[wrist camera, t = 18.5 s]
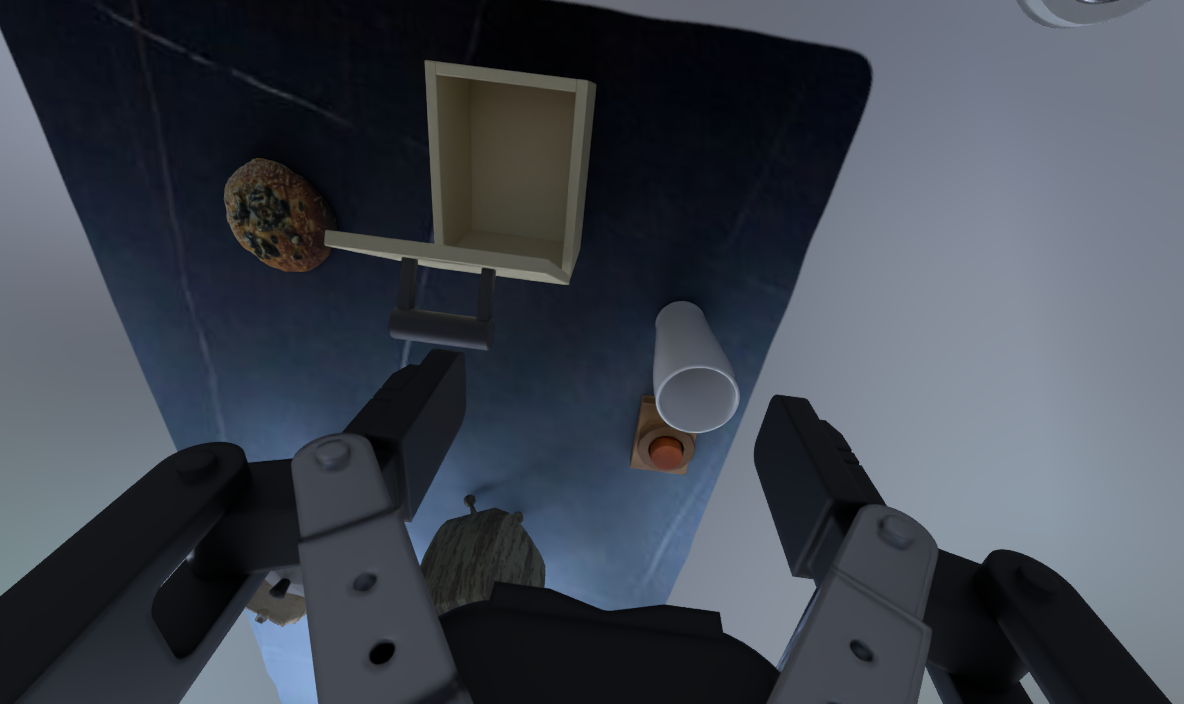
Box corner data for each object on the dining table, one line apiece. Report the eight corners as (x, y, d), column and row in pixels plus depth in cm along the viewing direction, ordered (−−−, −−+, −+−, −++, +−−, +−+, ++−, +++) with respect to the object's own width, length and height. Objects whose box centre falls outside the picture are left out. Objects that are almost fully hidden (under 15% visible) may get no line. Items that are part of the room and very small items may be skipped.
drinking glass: (722, 303, 49) (756, 378, 36) (696, 357, 52) (719, 443, 39) (661, 284, 48) (673, 353, 35) (639, 339, 52) (642, 421, 38)
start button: (653, 434, 54) (653, 444, 52) (684, 438, 54) (685, 448, 52) (648, 457, 55) (648, 468, 54) (678, 461, 55) (679, 472, 54)
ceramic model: (248, 552, 75) (197, 612, 66) (280, 520, 71) (231, 580, 62) (324, 595, 79) (286, 657, 70) (359, 568, 75) (323, 630, 66)
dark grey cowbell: (454, 489, 65) (364, 688, 43) (510, 472, 62) (446, 674, 41) (503, 555, 71) (446, 760, 49) (556, 543, 69) (522, 751, 47)
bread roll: (359, 254, 49) (325, 269, 45) (283, 276, 52) (244, 292, 48) (303, 143, 44) (259, 148, 40) (223, 175, 48) (176, 182, 44)
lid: (324, 229, 24) (317, 333, 24) (548, 258, 24) (536, 362, 24) (433, 257, 39) (427, 321, 40) (570, 275, 39) (562, 339, 40)
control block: (642, 394, 55) (643, 411, 52) (701, 402, 55) (705, 420, 52) (630, 458, 60) (629, 477, 57) (684, 465, 60) (686, 485, 57)
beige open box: (463, 67, 40) (424, 59, 33) (596, 84, 40) (588, 80, 32) (467, 234, 47) (435, 260, 40) (580, 249, 47) (570, 278, 39)
